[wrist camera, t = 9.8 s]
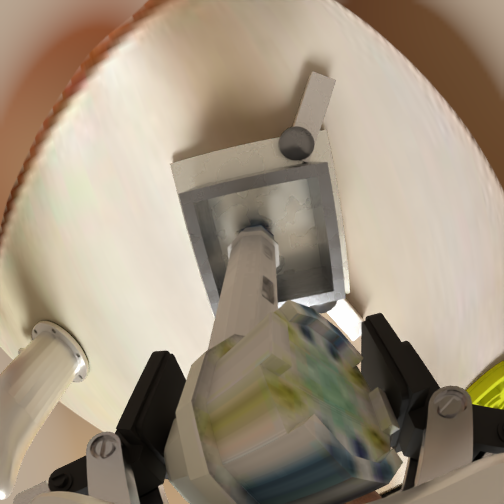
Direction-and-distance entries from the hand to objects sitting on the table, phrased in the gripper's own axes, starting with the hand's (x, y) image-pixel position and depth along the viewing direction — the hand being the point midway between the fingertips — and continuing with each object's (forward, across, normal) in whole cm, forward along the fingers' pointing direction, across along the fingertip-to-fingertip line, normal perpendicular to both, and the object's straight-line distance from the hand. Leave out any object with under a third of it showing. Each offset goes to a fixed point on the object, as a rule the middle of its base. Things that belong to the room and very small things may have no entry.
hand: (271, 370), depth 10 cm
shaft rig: (+21, 0, 0) cm, 21 cm away
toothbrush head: (+19, 0, 0) cm, 19 cm away
